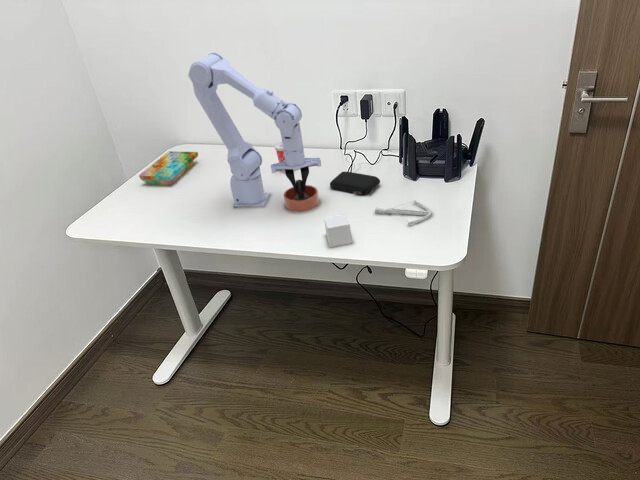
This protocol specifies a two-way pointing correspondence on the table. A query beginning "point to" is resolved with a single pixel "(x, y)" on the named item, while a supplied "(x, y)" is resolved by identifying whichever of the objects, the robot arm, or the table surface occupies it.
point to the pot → (301, 204)
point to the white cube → (338, 230)
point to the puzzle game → (168, 168)
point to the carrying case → (355, 183)
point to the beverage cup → (280, 152)
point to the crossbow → (407, 212)
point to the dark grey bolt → (300, 191)
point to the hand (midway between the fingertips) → (300, 190)
